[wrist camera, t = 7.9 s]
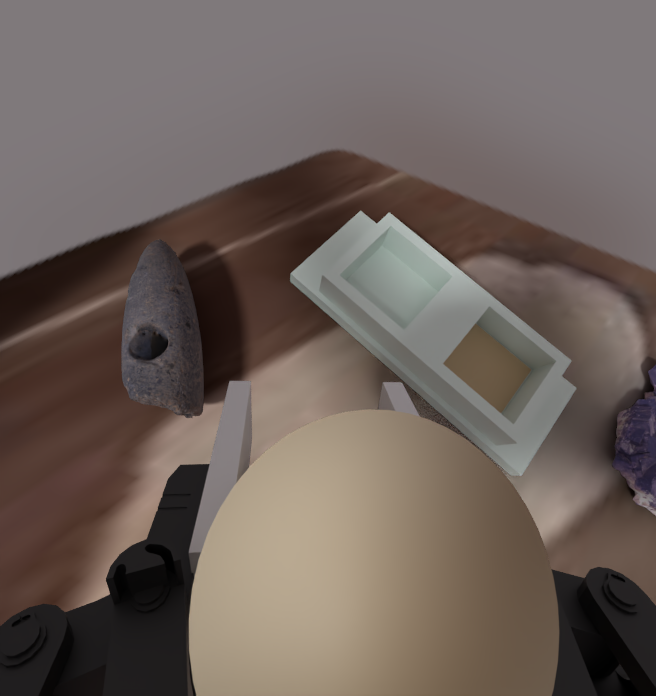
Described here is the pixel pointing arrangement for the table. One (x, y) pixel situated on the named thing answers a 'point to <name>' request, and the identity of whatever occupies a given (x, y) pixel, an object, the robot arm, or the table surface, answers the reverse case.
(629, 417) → the mineral specimen
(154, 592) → the robot arm
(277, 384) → the table surface
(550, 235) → the table surface
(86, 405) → the table surface
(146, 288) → the perforated stone tool
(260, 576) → the birch peg
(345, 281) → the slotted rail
